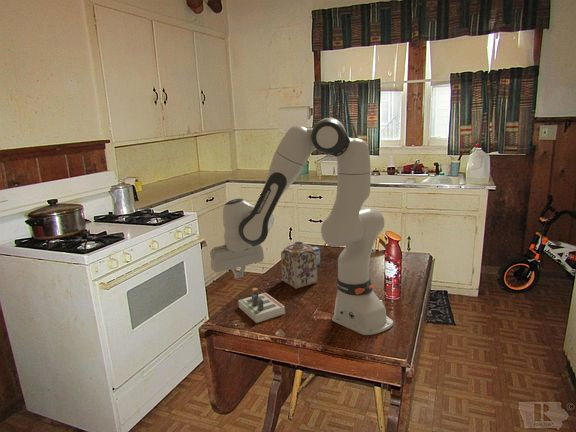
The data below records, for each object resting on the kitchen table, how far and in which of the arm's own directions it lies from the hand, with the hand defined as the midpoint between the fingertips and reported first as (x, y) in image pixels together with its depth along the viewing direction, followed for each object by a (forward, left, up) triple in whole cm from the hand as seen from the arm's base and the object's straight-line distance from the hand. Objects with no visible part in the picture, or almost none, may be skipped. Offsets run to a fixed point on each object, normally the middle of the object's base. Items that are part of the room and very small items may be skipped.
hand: (238, 277), depth 158 cm
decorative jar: (+10, -33, -14) cm, 37 cm away
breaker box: (-5, -6, -14) cm, 16 cm away
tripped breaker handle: (0, -6, -11) cm, 12 cm away
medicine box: (+23, -48, -14) cm, 55 cm away
